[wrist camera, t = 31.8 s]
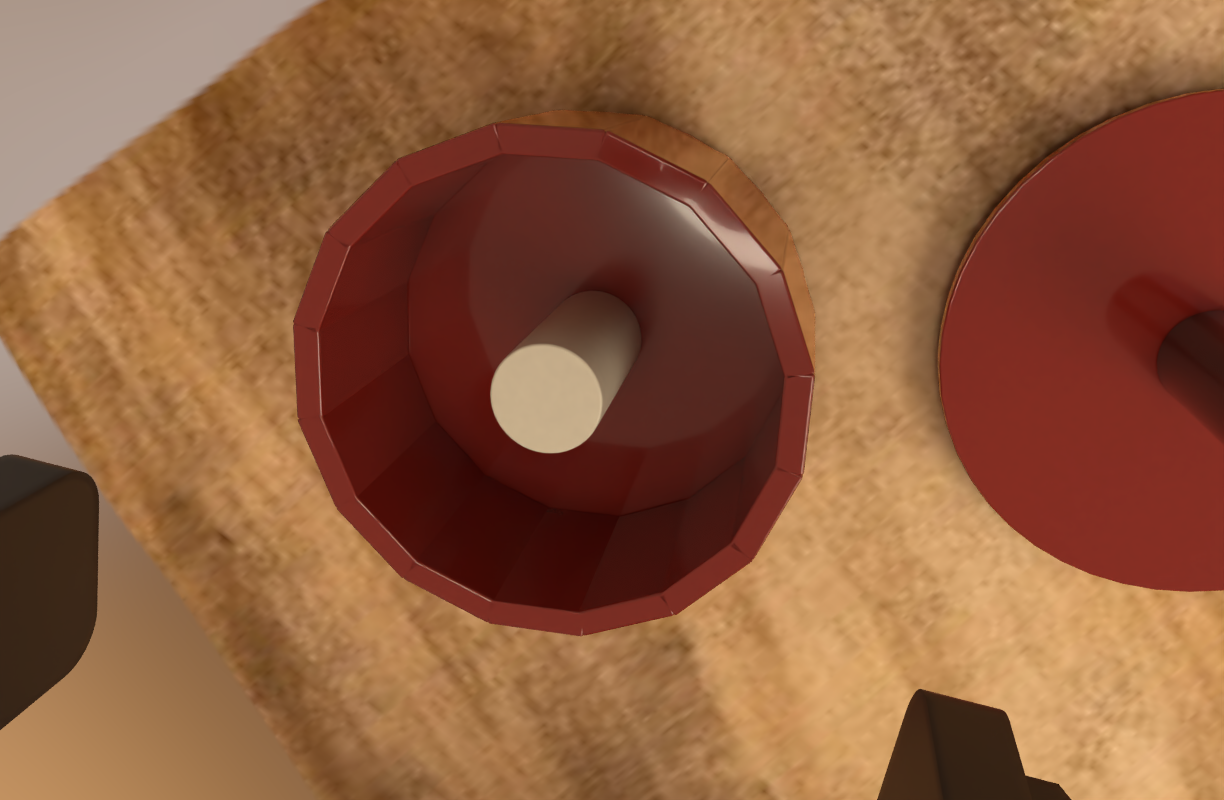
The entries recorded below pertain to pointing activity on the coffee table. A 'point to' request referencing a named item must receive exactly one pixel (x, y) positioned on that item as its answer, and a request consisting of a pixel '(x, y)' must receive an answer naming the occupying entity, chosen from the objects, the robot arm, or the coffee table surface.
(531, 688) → the coffee table surface
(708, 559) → the pot
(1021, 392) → the lid
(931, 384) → the coffee table surface
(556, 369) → the tube
